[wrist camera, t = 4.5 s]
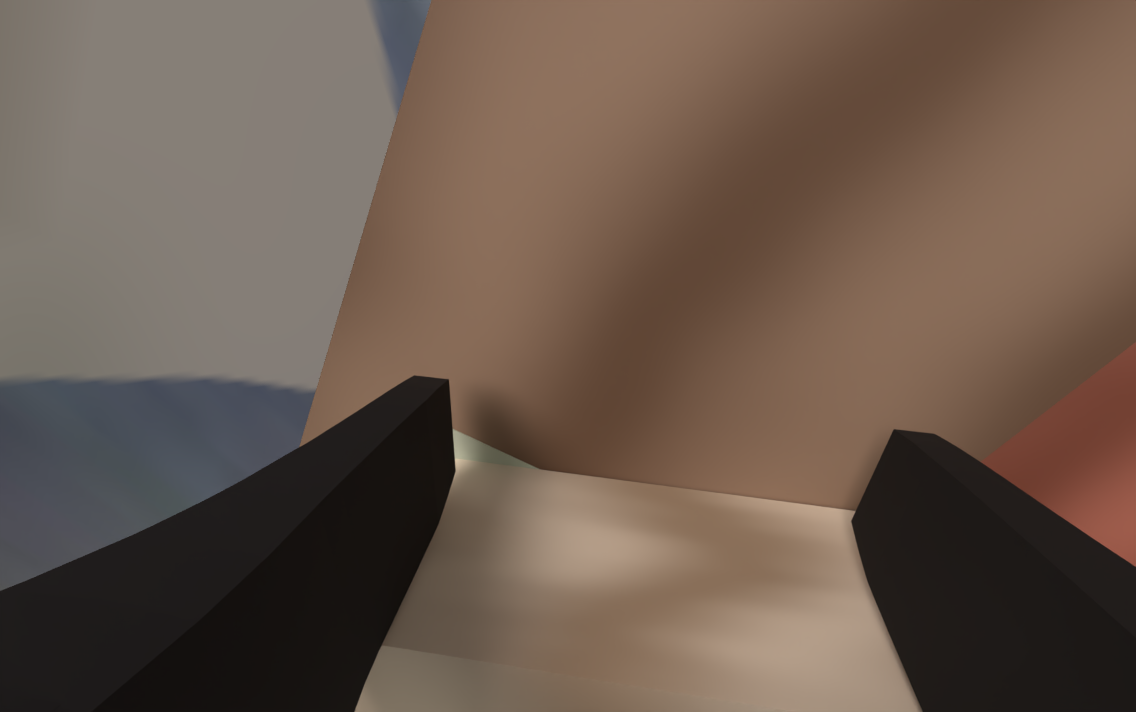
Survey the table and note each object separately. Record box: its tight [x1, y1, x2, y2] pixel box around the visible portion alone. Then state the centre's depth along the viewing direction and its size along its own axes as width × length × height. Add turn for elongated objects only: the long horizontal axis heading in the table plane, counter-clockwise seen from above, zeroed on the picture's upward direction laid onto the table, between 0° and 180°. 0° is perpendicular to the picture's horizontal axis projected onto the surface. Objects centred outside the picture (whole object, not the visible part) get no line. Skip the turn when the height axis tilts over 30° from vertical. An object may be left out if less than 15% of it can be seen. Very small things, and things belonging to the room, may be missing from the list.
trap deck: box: [300, 0, 1136, 567], centre depth 12 cm, size 21×26×2 cm
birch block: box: [355, 458, 923, 712], centre depth 11 cm, size 9×7×4 cm
